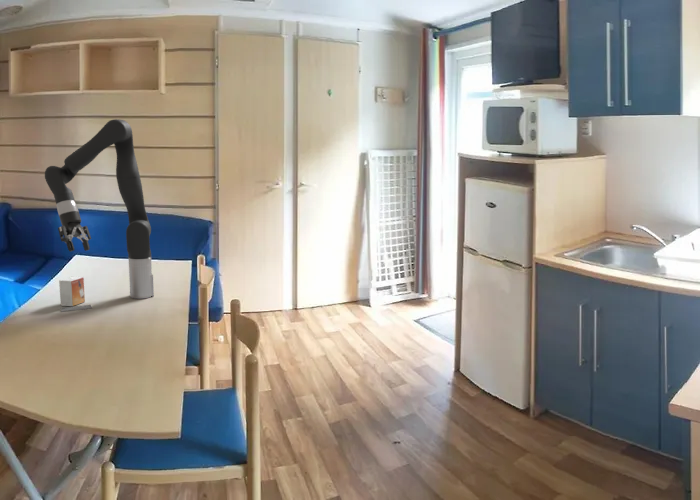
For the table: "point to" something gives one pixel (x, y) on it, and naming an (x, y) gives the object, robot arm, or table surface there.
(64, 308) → the charcoal mat
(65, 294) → the small box
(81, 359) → the table surface
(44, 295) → the table surface
